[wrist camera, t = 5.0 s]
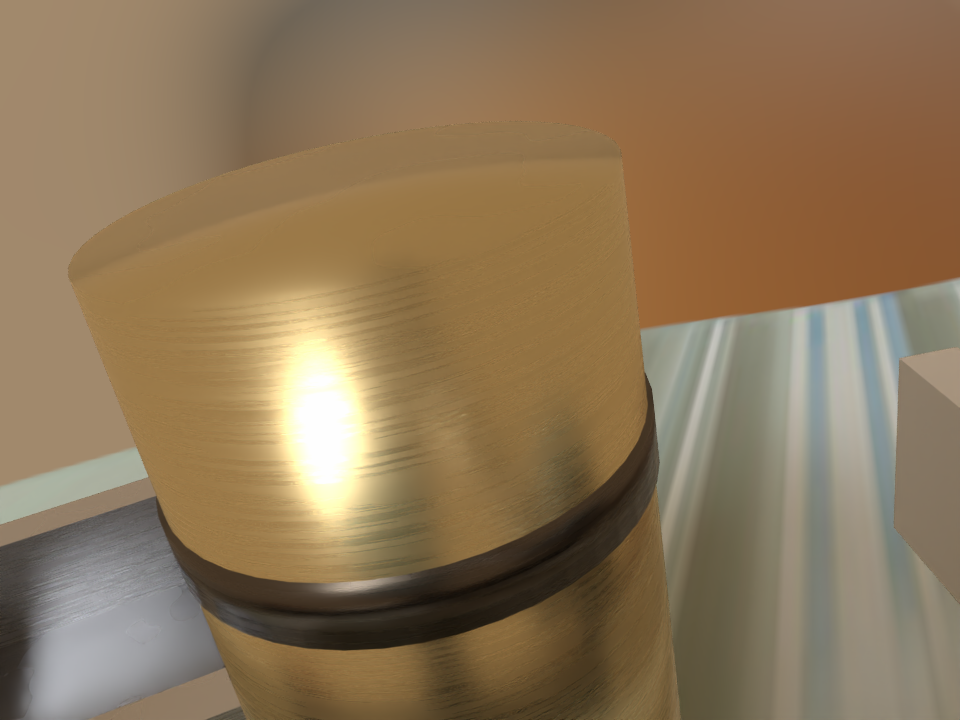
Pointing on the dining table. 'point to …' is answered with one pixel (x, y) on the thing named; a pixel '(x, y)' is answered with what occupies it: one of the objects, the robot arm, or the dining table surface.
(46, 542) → the divided compartment tray
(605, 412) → the tube
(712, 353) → the dining table surface
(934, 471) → the robot arm
